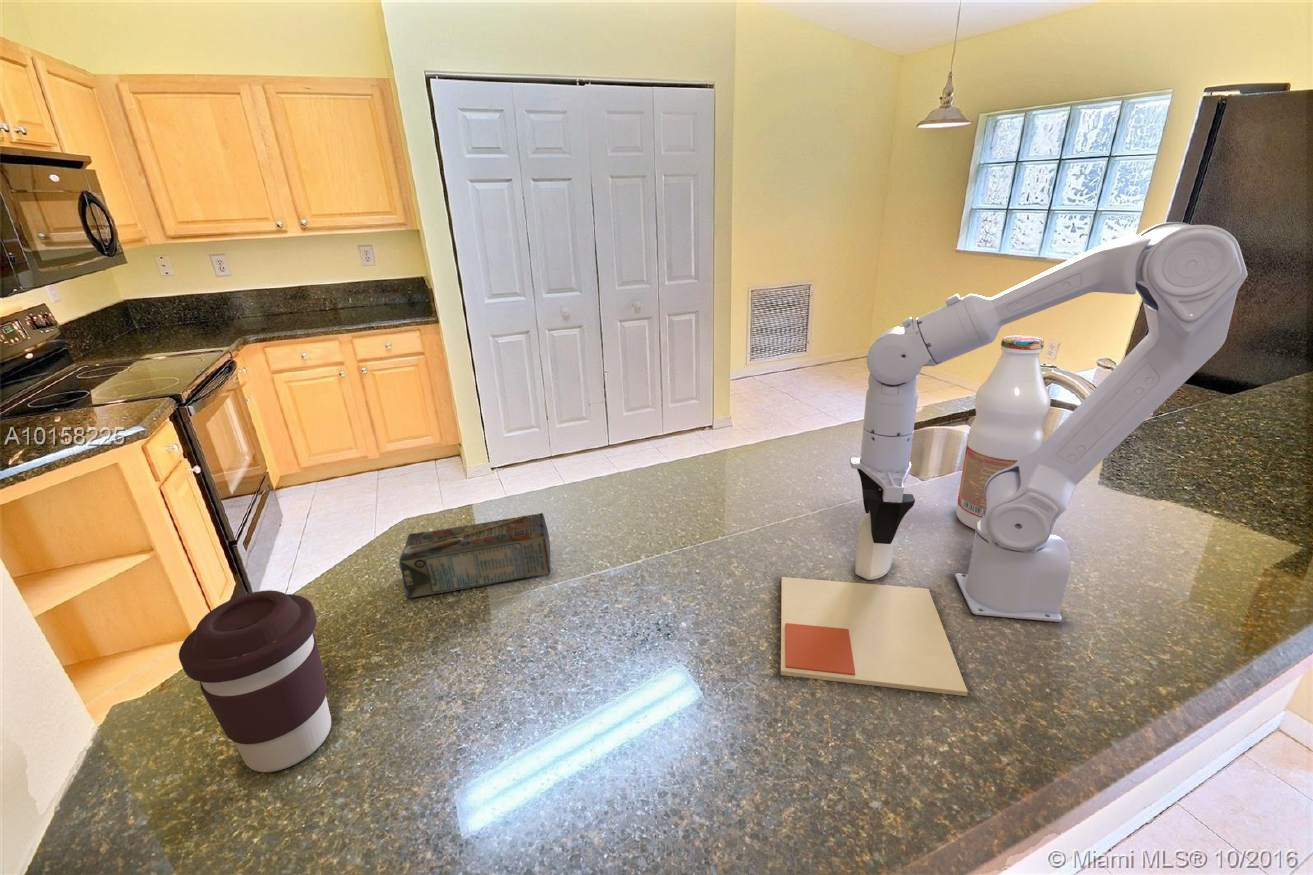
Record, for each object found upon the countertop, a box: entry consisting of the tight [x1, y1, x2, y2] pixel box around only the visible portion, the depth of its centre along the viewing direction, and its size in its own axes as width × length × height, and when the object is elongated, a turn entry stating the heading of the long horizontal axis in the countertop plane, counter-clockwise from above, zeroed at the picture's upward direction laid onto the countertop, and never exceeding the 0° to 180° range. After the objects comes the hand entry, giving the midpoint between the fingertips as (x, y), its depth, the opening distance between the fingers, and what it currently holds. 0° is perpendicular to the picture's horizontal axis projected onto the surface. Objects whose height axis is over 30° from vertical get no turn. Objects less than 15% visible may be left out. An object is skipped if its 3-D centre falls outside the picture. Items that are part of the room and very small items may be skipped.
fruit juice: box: [956, 334, 1052, 531], centre depth 83 cm, size 9×9×28 cm
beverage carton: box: [398, 512, 551, 599], centre depth 80 cm, size 8×19×7 cm, turn 103°
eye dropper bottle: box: [854, 489, 896, 581], centre depth 75 cm, size 4×6×12 cm
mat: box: [780, 576, 969, 697], centre depth 66 cm, size 18×17×1 cm
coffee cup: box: [178, 589, 332, 773], centre depth 53 cm, size 10×10×15 cm
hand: (877, 526), depth 75 cm, fingers open, 7 cm apart
